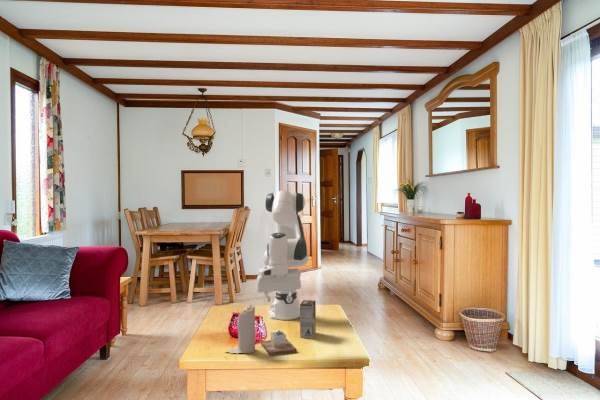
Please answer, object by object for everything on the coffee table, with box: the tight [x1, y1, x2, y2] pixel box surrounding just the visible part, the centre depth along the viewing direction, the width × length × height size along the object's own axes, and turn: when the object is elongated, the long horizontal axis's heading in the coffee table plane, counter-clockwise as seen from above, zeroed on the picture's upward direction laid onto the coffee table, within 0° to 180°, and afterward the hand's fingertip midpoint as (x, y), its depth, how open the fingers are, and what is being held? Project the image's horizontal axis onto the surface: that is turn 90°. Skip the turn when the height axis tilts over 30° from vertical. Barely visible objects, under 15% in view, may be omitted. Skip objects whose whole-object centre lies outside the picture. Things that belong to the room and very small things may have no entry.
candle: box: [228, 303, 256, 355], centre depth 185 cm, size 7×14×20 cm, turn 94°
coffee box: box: [299, 299, 317, 339], centre depth 206 cm, size 9×6×16 cm
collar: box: [270, 331, 287, 348], centre depth 188 cm, size 5×5×5 cm
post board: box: [260, 338, 298, 357], centre depth 188 cm, size 15×12×2 cm
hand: (278, 300), depth 189 cm, fingers open, 8 cm apart
